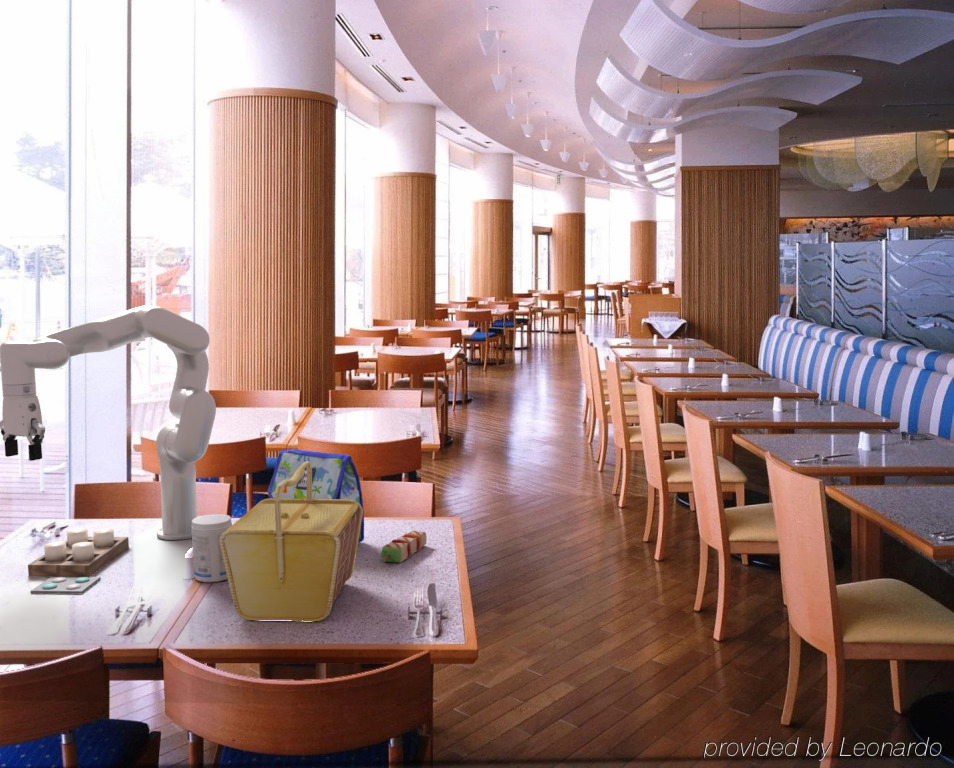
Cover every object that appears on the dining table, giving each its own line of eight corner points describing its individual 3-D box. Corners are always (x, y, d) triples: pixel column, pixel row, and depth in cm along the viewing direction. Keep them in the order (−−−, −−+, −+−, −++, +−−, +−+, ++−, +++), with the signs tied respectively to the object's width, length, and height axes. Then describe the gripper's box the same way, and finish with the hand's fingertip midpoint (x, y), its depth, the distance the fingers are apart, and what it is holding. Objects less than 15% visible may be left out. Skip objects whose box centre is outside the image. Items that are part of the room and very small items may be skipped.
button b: (91, 542, 244) (90, 528, 243) (83, 547, 239) (82, 533, 238) (73, 542, 244) (72, 528, 243) (64, 547, 239) (63, 533, 238)
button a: (117, 542, 243) (116, 528, 243) (109, 548, 238) (108, 534, 238) (98, 542, 243) (98, 528, 243) (90, 548, 239) (89, 533, 238)
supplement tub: (230, 568, 230) (228, 511, 228) (238, 580, 221) (236, 521, 220) (190, 574, 226) (188, 516, 224) (196, 586, 217) (194, 525, 215)
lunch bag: (265, 549, 246) (262, 453, 243) (299, 532, 262) (297, 443, 258) (337, 558, 238) (335, 460, 235) (368, 541, 253) (366, 448, 250)
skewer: (408, 544, 251) (408, 527, 250) (429, 547, 249) (429, 529, 248) (372, 567, 232) (371, 548, 231) (394, 570, 229) (394, 551, 229)
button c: (97, 556, 231) (97, 541, 231) (88, 562, 226) (88, 547, 226) (78, 556, 232) (77, 541, 231) (69, 562, 227) (68, 547, 226)
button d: (70, 556, 232) (69, 541, 231) (61, 562, 227) (60, 547, 226) (51, 556, 232) (50, 541, 231) (41, 562, 227) (40, 547, 226)
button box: (128, 547, 247) (128, 536, 247) (89, 577, 223) (88, 565, 223) (74, 547, 247) (73, 536, 247) (28, 576, 224) (27, 564, 223)
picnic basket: (259, 579, 222) (256, 458, 219) (365, 581, 221) (363, 459, 217) (219, 625, 193) (214, 486, 190) (340, 628, 192) (337, 488, 188)
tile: (100, 579, 222) (100, 575, 222) (81, 593, 212) (81, 590, 212) (51, 578, 222) (51, 575, 222) (30, 593, 212) (30, 589, 212)
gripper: (54, 391, 227) (58, 458, 230) (12, 386, 236) (16, 451, 238) (26, 394, 221) (31, 464, 223) (-16, 390, 230) (-11, 456, 232)
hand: (23, 457), depth 231 cm, fingers open, 9 cm apart
